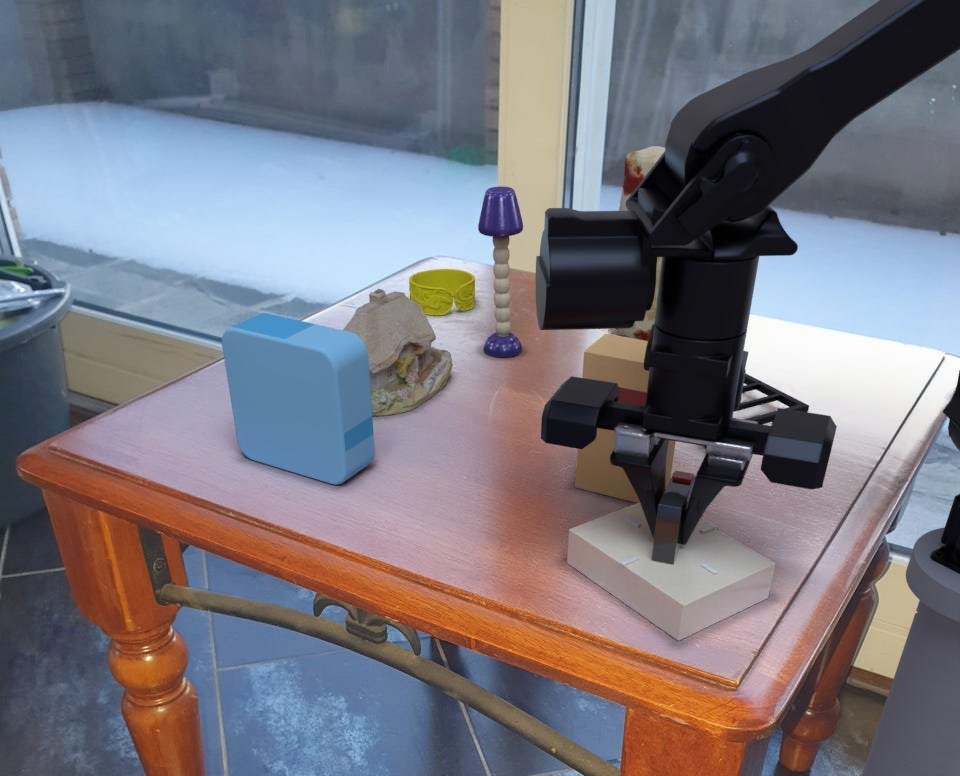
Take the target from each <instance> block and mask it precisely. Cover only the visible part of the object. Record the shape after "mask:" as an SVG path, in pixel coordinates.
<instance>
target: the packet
mask: <svg viewBox="0 0 960 776" xmlns="http://www.w3.org/2000/svg"><path fill="white" fill-rule="evenodd" d="M647 343H648V341H644V340H639V339H633V338H630V337H627V336H624V335H616V334H612V333H604V334H603V335H602V336H601V337H599V338H598V339H597V340H595V342H593V343H592V344H591V345H590V346H589V347H587V348H586V349H585V350H584V351H583V361H582V362H583V364H582V376H581V378H586V379H592V380H599V381H606V382H612V383H617V384H618V387H619V390H620V393H619V402H623V403H629V404H635V405H642V406H645V405H646V396H647V387H648V378H649V371H646V370H644V358H645V352H646V347H647ZM676 443H677V441H672V440H669V443H668V450H667V456H666V479H665V490H666V488H667V486H668V483H669V481H670V479H671V477H672V474H673V473H672V471H673V464H674V458H675V457H674V456H675V449H676ZM614 448H615V434H614V431H612V430H606V429H600V428H597V437H596V439H595V440H594V441H593V442H592V443H590V444H589V445H587V446H586V447H585V448H583V449H577V448H576V449H577V451H576V463H575V464H576V465H575V478H574V480H575V481H574V488H575V489H580V490H583V491H584V490H585V491H587V492H592V493H595V494H599V495H604V496H608V497H611V498H616V499H619V500H624V501H628V502H632V503H635V504H636V503H639V502H640V501H639V499H638V497H637V495H636V493H635V491H634V489H633V487H632V485H631V483H630V481H629V479H628V477H627V476H626V474H625V472H624V470H623V468H621V467H618V466H614V465H612V464H611V463H610V455H611V453H612V452H613V450H614Z"/></svg>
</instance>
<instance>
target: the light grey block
mask: <svg viewBox="0 0 960 776" xmlns="http://www.w3.org/2000/svg"><path fill="white" fill-rule="evenodd" d="M717 527H718V526H717V525H716V524H714V523H712V524H709V523H706V522H705V521H703V520H702V519H700V520H699V522H698V524H697V525H696V527H695V529H694V531H693V533H692V534H691V536H690V538H689V540H688V542H687V543H686V545H683V544H682V545H681V548H680V550H679V552H678V555H677V557H676V560H675V562H674V564H669V563H664V562H659V561H654V560H651V558H652V550H653V542H654V539H653V537H652V534H651V531H650V529H649V526H648V523H647V520H646V518H645V515H644V512H643V509H642V507H641V504H640V502H639V503H636V502H635V503H634V504H631V505H629V506H626V507H623V508H620V509H618V510H615V511H613V512H610V513H608V514H604V515H602V516H600V517H597V518H594V519H592V520H588V521H587V522H584V523H581V524H579V525H576V526H574V527H571V528H569V529H568V539H567V553H566V555H567V556H566V564H567V565H569V566H571V567H572V568H573V569H575V570H577V572H579V573H580V574H582V575H583V576H584V577H586V578H588V579H589V580H591V582H593V583H595V584H596V585H598V586H599V587H600V588H602V589H603V590H605V591H606V592H607V593H609V594H610V595H612V596H613V597H614V598H616V599H618V600H619V601H620V602H622V603H623V604H625V605H626V606H627V607H629V608H630V609H632V610H633V611H634V612H636V613H638V614H639V615H640V616H642V617H643V618H644V619H646V620H647V621H648V622H650V623H652V624H653V625H655V626H656V627H657V628H659V629H660V630H662V631H663V632H665V633H666V634H668V635H669V636H670V637H672V638H673V639H674V640H676V641H678V642H679V641H681V640H683V639H685V638H688V637H690V636H692V635H695V634H696V633H699V632H700V631H702V630H705V629H706V628H709V627H710V626H713V625H715V624H716V623H717V624H718V623H719V622H721V621H723V620H725V619H728V618H729V617H731V616H733V615H735V614H737V613H740V612H742V611H744V610H746V609H748V608H750V607H753V606H755V605H757V604H759V603H760V602H763V601H765V600H767V599H769V597H770V596H769V595H770V591H771V586H772V582H773V578H774V573H775V568H776V562H774V561H772V560H771V559H769V558H767V557H766V556H764V555H762V554H760V553H759V552H757V551H755V550H754V549H752V548H750V547H748V546H746V545H745V544H743V543H741V542H740V541H738V540H736V539H734V538H733V537H731V536H729V535H727V534H726V533H724V532H722V531H721V530H718V529H717Z"/></svg>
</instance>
